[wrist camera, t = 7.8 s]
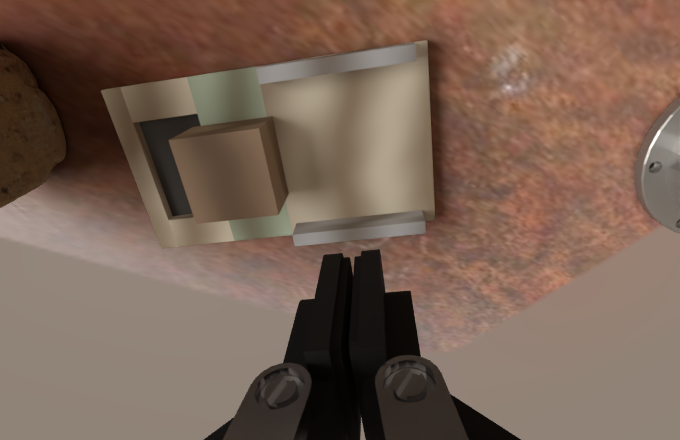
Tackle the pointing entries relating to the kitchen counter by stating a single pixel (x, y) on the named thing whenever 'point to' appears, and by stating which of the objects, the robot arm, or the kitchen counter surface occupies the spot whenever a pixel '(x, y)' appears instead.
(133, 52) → the kitchen counter surface
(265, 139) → the walnut block
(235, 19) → the kitchen counter surface
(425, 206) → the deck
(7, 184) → the block
